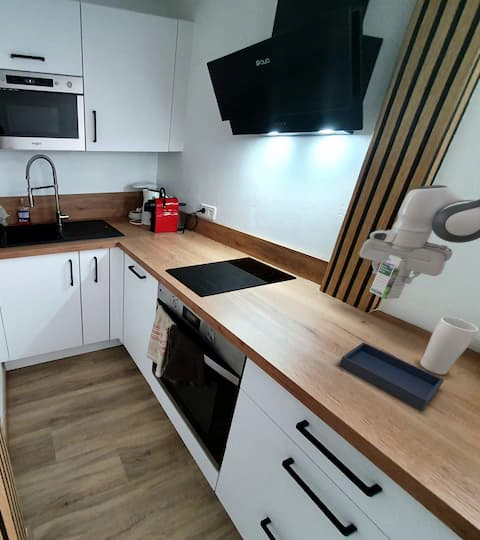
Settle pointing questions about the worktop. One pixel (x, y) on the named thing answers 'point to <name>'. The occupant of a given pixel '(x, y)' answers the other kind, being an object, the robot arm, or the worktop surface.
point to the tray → (392, 374)
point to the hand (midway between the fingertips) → (390, 278)
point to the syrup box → (390, 278)
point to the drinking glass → (447, 344)
